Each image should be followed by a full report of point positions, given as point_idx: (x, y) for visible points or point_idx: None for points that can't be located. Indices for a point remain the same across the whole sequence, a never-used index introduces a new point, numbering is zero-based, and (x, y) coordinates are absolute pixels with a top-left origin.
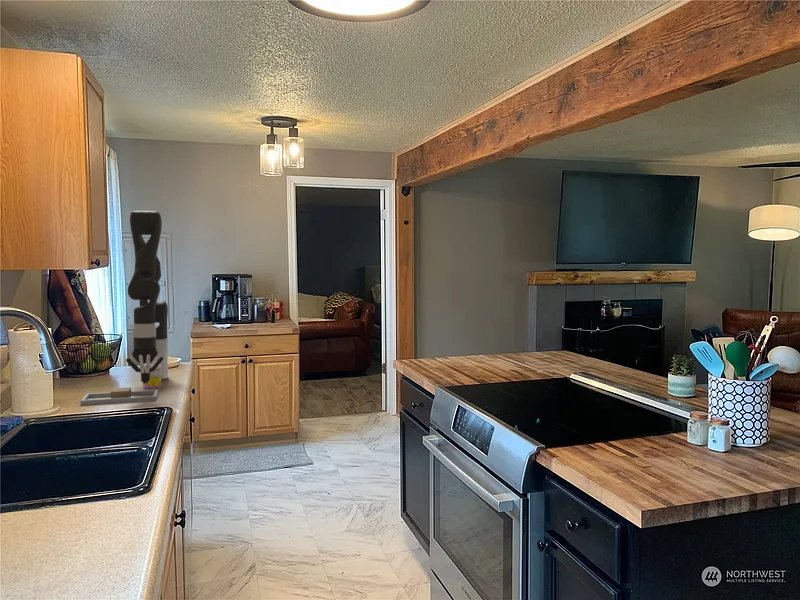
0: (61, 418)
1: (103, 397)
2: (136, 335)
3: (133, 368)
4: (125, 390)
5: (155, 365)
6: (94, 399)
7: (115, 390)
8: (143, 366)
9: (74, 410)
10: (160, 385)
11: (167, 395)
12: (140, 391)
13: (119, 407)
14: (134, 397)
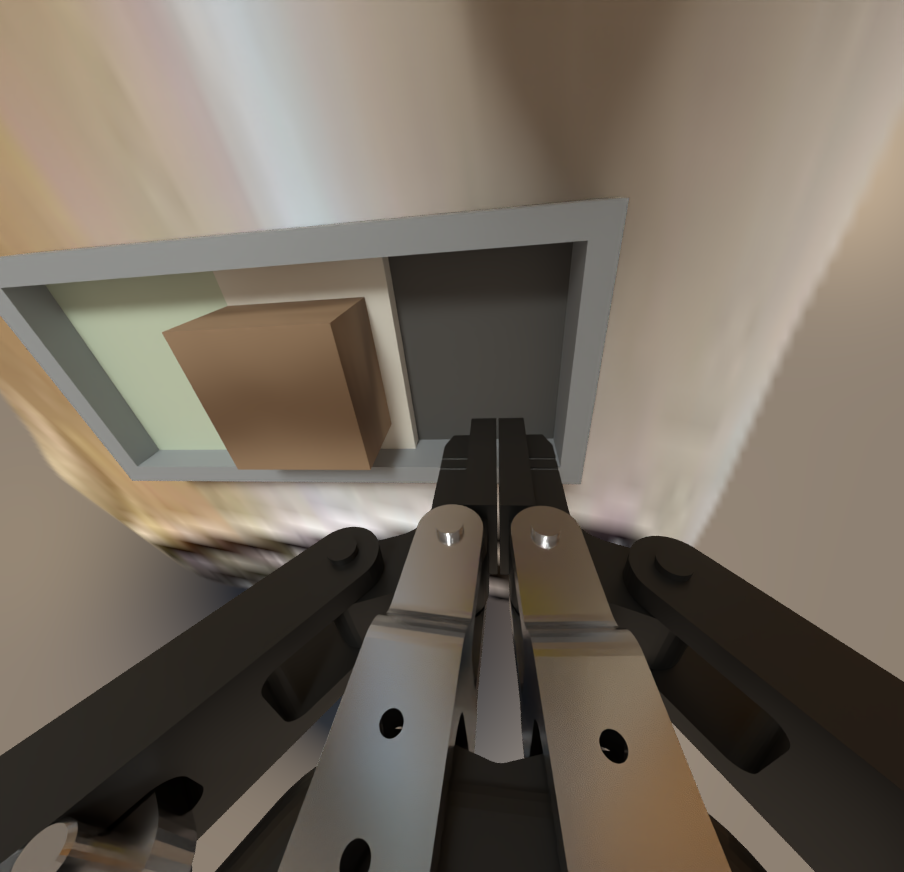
0: (215, 574)
1: (142, 281)
2: None
3: (305, 658)
4: (335, 453)
5: (733, 749)
6: (193, 472)
7: (249, 435)
8: (474, 725)
9: (174, 488)
10: None
11: (711, 165)
12: (428, 252)
13: (370, 487)
14: (430, 479)
